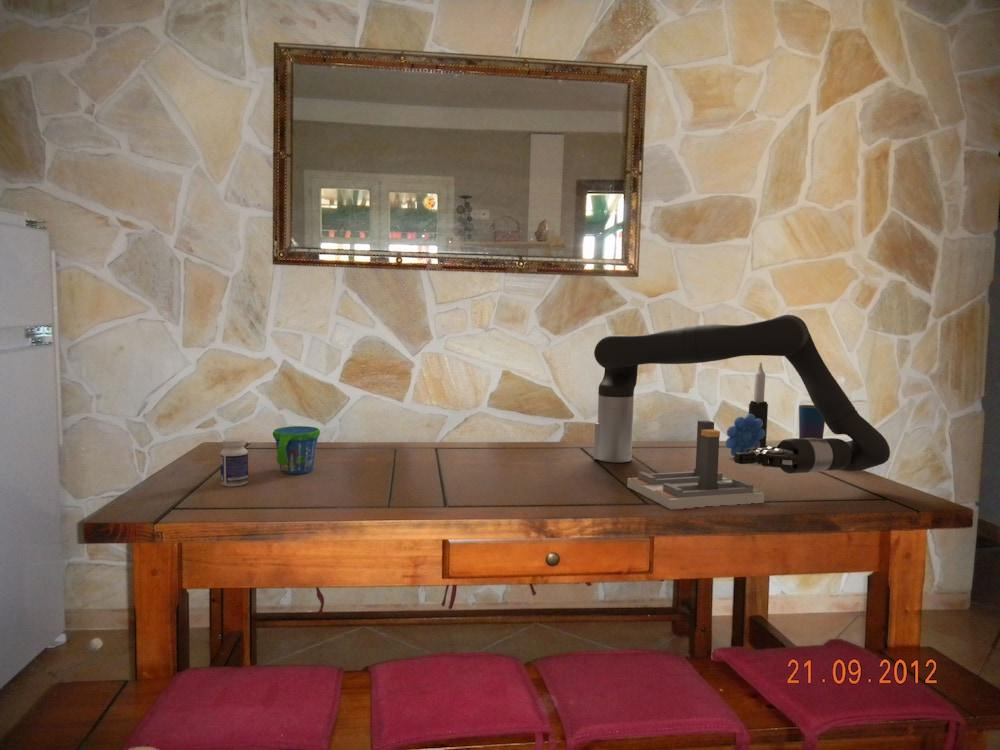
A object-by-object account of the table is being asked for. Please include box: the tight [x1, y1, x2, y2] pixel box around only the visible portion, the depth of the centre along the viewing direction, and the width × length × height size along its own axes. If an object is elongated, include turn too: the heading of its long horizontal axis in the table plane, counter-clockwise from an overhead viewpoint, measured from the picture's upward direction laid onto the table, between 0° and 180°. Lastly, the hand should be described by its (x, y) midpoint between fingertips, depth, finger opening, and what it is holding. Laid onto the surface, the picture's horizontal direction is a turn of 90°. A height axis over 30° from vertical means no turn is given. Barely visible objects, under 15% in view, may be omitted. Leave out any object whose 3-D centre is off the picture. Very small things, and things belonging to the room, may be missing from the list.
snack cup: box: [272, 425, 321, 475], centre depth 172 cm, size 16×10×10 cm
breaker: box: [698, 429, 721, 490], centre depth 151 cm, size 3×3×13 cm
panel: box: [627, 420, 765, 510], centre depth 157 cm, size 22×19×15 cm
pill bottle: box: [219, 437, 249, 487], centre depth 159 cm, size 6×6×10 cm
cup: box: [798, 404, 826, 439], centre depth 194 cm, size 7×7×15 cm
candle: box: [748, 362, 769, 448], centre depth 215 cm, size 5×5×25 cm
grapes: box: [724, 413, 765, 457], centre depth 200 cm, size 12×7×12 cm, turn 102°
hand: (736, 458), depth 153 cm, fingers closed
